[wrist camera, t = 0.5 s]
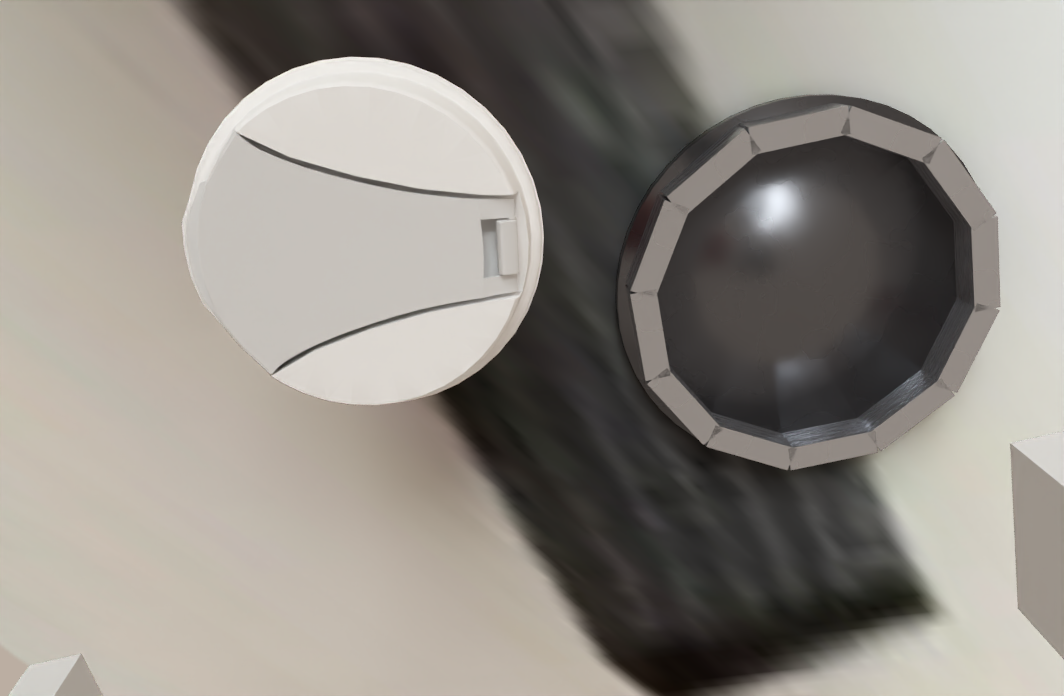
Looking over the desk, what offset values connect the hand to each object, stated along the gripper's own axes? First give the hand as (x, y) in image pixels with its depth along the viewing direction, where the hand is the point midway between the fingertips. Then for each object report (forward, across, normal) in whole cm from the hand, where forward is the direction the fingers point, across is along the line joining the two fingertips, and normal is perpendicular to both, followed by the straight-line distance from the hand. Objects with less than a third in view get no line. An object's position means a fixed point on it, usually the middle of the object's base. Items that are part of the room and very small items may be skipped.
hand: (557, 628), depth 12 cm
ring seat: (+24, +11, -5) cm, 26 cm away
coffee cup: (+24, -3, +4) cm, 24 cm away
